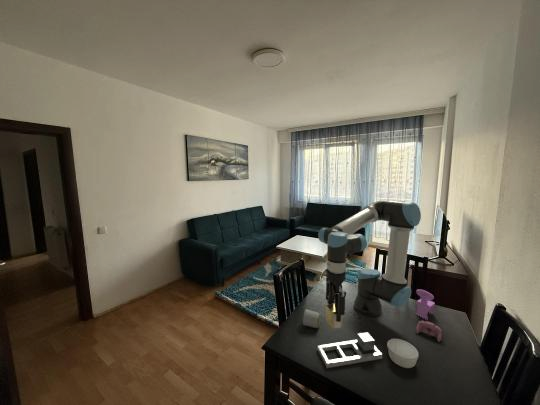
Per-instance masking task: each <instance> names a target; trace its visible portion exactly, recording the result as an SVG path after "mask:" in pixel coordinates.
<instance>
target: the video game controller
mask: <svg viewBox="0 0 540 405" xmlns="http://www.w3.org/2000/svg"><path fill="white" fill-rule="evenodd" d="M428 329H429V330H431V331H430V332H429V330H428ZM421 330H422V331H421ZM415 331H416V332H415V333H416V334H420V332H422V333H423V334H428V332H429V334H430V336H431V337H436V336H437V337H436V340H437V342H438V343H441V340H442V332H443V331H442V329H441V328H440V327H439V326H438V325H436V324H435V323H433V322H431V321H428V320H426V321H425V320H420V321H418V322H417V325H416V330H415Z"/></svg>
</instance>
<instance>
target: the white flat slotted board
mask: <svg viewBox="0 0 540 405" xmlns="http://www.w3.org/2000/svg"><path fill="white" fill-rule="evenodd" d="M348 348H352V350H353V352H355V354H356V355H353V356H346V355H345V353H344V352H343V350H342V349H348ZM335 350H336V352H337V354H338V355H339V357H340V358H334V359H329V358H328V356H327V355H326V353H325V352H330V351H335ZM317 351H318V353H319V356H320V357H321V359H322V361H323V363H324V364H325V366H326V369H329V368H336V367H340V366H345V365H346V366H347V365H348V366H349V365H352V364H358V363H365V362H369V361H377V360H382V359H383V353H382V352H381V351H380V350H379V349H378V348H377V346H376V345H374V353H369V354H362V352H361V351H360V350H359V349H358V347H357V339H352V340H346V341H340V342H333V343H327V344H326V343H325V344H321V345H319V344H318V345H317Z"/></svg>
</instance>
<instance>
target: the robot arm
mask: <svg viewBox="0 0 540 405" xmlns="http://www.w3.org/2000/svg"><path fill="white" fill-rule="evenodd" d="M421 219H422V213H421V209H420V206H419V205H418V204H417V203H415V202H412V201H408V200H405V201H404V200H392V199H382V200H377V201H375V202H372V203H369V204H367V205H366V206H364V207H363V208H362V210H360V211H358V212H357V213H355V214H354V215H351V216H350V217H348V218H346V219H345V220H342V221H340V222H339V223H337V224H336V225H333V226H332V227H330V228H329V227H322V228H321V229H320V230H319V231H318V233H317V236H318V237H317V238H318V240H319V241H320V242H321V243H323V244H325V245H326V246H327V248H326V250H327V253H326V254H327V256H326V262H325V265H326V276H325V277H326V278H325V282H326V283H325V284H326V285H325V300H326V301H327V302H326V303H327V305H333V304H335V312H334V326H333V327H334V328H333V329H340V328H342V327H341V315H343V316H345V314H346V312H345V309H346V296H347V292H346V291H344V290H343V283H344V282H345V281H346V270H347V255H351V254H354V253H355V254H356V253H360V252H362V251H364V250H365V249H366V248H367V247H368V246H367V245H368V241H367V238H366V237H365V236H364V235H363V234H361V233H356V232H357V231H358V230H361V229H362V228H363V227H365V226H367V225H369V224H370V223H375V222H377V221H383V222H384V221H385V222H387V226H388V228H389V229H390V232H389V240H388V241H389V242H388V251H387V256H386V257H387V258H386V265H385V273H383V274H382V273H381V272H380V270H378V269H374V268H364V269H360V270H359V271H358V274H357V293H356V297H355V299H354V301H353V307H354V309H355V310H356V311H357V312H358V313H360V314H362V315H364V316H367V317H377V316H378V317H379V316H380V315H382V313H383V306H382V303H381V300H382V301H384V302H385V303H387V304H389V305H391V306H394V307H396V308H403V307H404V306H406V305H407V304H408V303H409V300H410V299H411V296H412V289H411V287H410V286H408V281H407V279H406V278H405V274H406V267H407V266H406V265H407V259H408V258H407V257H408V251H409V249H408V248H409V242H410V235H411V232H412V231H414V230H415V227H417V226H418V225H419V224H420V222H421Z"/></svg>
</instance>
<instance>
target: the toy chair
mask: <svg viewBox="0 0 540 405" xmlns="http://www.w3.org/2000/svg"><path fill="white" fill-rule="evenodd" d="M415 293H416V294H417V295H418V296H419V297H420V298H419V299H418V300H417V301H416V308H417V310H416V312H415V314H416V315H415V314H414V315H415V316H417V315H418V317H419V316H420V317H419V318H421V317H422V318H421V319H424V318H425V319H424V320H426V319H427V320H426V321H428V320H429V319H428V314H430V313H432V314H434V307H435V306H436V303H435V302H434V301H433V300H434V299H435V296H434V295H433V294H432V293H430V292H428V291H427V290H424V289H416V292H415ZM428 312H430V313H428ZM432 314H431V315H432Z"/></svg>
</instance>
